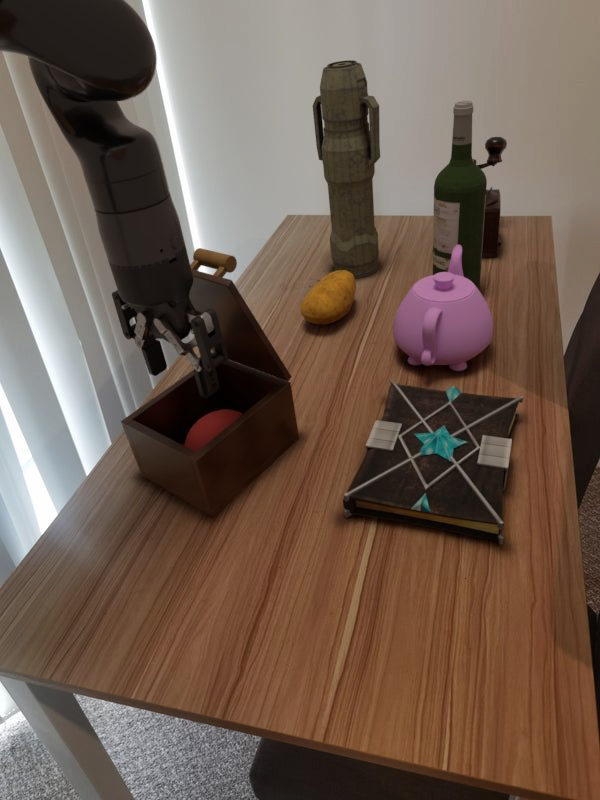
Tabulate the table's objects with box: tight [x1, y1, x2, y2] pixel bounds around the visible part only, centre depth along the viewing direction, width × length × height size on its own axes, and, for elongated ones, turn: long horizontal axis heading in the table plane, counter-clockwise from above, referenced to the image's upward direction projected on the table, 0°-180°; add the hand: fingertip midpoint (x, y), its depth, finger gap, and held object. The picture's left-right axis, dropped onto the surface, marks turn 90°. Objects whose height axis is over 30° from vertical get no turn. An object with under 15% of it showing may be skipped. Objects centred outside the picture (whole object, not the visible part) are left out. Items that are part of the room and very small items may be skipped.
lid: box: [189, 247, 292, 382], centre depth 70 cm, size 17×13×5 cm
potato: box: [299, 270, 357, 325], centre depth 100 cm, size 8×14×7 cm, turn 152°
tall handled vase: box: [312, 59, 381, 279], centre depth 105 cm, size 9×12×35 cm
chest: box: [120, 359, 300, 518], centre depth 74 cm, size 16×13×9 cm
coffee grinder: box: [472, 136, 508, 259], centre depth 113 cm, size 16×11×18 cm
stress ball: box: [185, 409, 242, 452], centre depth 75 cm, size 5×9×6 cm
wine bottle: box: [432, 100, 488, 291], centre depth 94 cm, size 8×8×30 cm
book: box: [342, 379, 524, 546], centre depth 70 cm, size 22×17×5 cm
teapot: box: [392, 245, 494, 372], centre depth 86 cm, size 20×14×12 cm
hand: (183, 382), depth 67 cm, fingers open, 8 cm apart
